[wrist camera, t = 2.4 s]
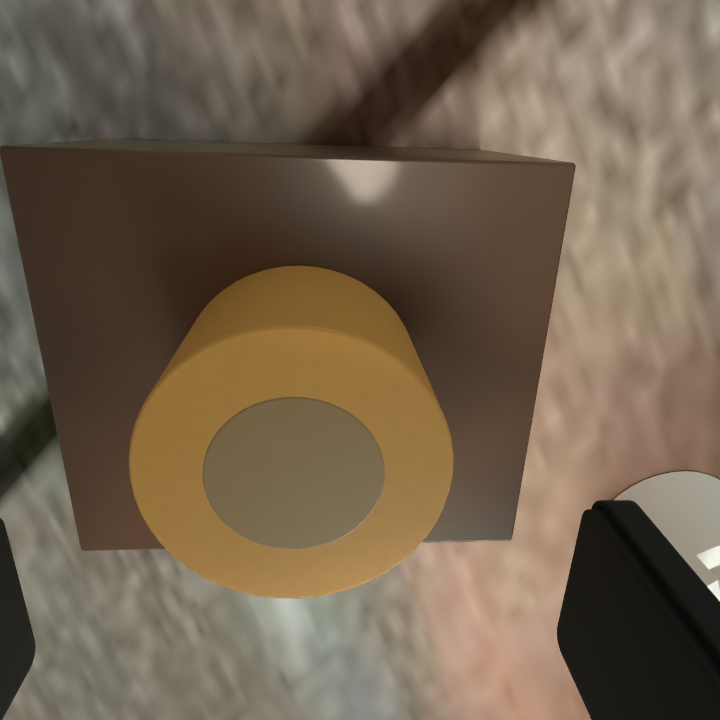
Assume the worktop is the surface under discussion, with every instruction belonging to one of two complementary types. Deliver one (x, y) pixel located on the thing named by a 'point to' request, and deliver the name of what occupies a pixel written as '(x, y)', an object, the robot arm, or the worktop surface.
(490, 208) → the brown square pedestal
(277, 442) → the tape roll
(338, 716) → the worktop surface
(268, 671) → the worktop surface
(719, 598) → the white slotted cylinder
